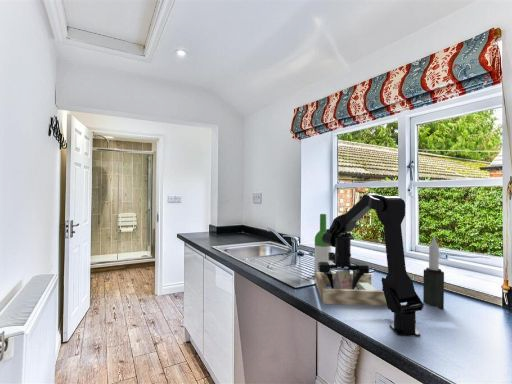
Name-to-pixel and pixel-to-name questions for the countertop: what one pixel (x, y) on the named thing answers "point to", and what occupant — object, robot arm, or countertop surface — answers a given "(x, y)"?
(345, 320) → the countertop surface
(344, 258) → the robot arm
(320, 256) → the wine bottle
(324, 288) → the beige shallow tray
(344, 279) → the white printed packet
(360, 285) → the offcut top
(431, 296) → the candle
